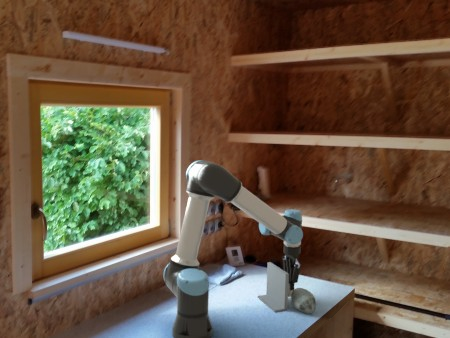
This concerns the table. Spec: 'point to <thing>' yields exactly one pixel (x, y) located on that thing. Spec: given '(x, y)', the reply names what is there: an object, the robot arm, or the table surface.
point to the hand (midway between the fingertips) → (290, 295)
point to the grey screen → (276, 288)
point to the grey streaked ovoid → (303, 300)
